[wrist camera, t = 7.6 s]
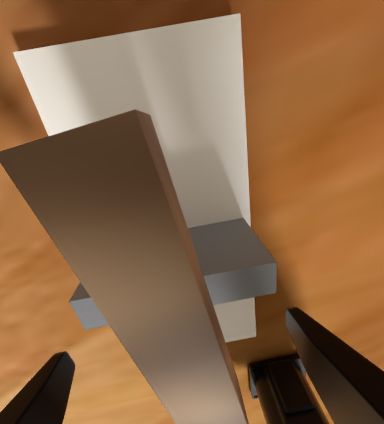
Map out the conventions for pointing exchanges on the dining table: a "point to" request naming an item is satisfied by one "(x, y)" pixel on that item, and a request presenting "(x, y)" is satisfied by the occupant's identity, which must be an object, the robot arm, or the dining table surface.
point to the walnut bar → (133, 257)
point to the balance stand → (172, 141)
